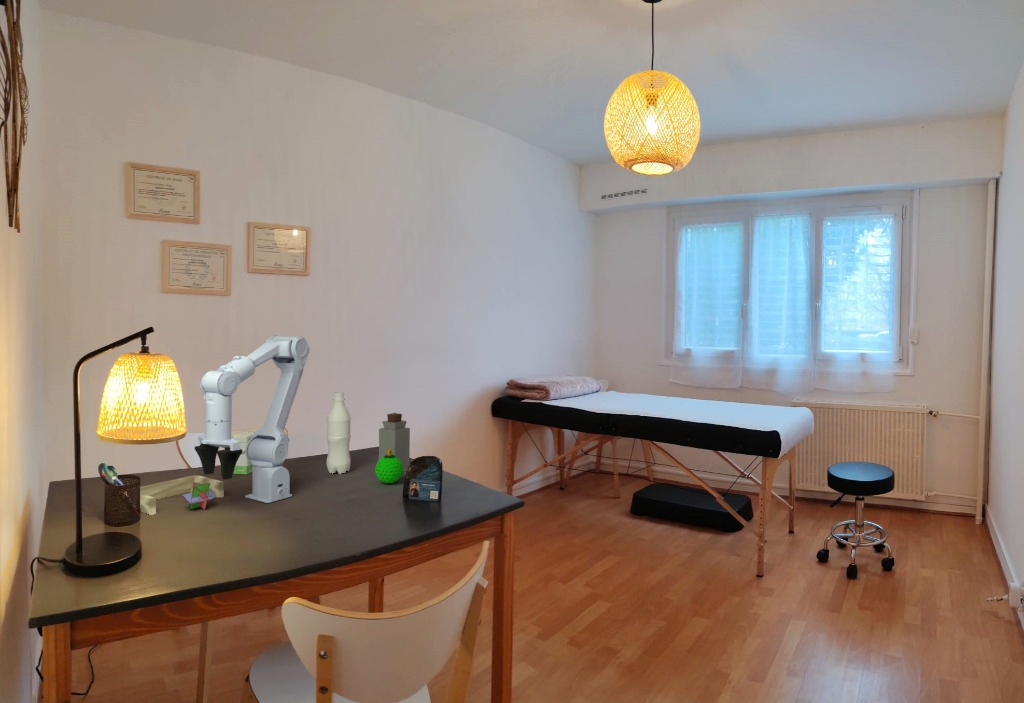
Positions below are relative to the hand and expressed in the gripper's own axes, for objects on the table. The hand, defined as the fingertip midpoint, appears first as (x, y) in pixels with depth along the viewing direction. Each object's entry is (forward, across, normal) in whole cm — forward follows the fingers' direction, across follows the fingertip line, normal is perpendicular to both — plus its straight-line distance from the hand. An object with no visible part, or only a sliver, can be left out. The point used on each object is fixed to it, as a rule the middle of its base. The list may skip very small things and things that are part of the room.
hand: (218, 476), depth 153 cm
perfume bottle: (+8, +4, +58) cm, 58 cm away
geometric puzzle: (+10, -8, 0) cm, 13 cm away
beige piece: (+9, -18, 0) cm, 20 cm away
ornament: (+9, +13, +46) cm, 48 cm away
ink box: (+9, -32, +30) cm, 44 cm away
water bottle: (+9, -8, +45) cm, 47 cm away
